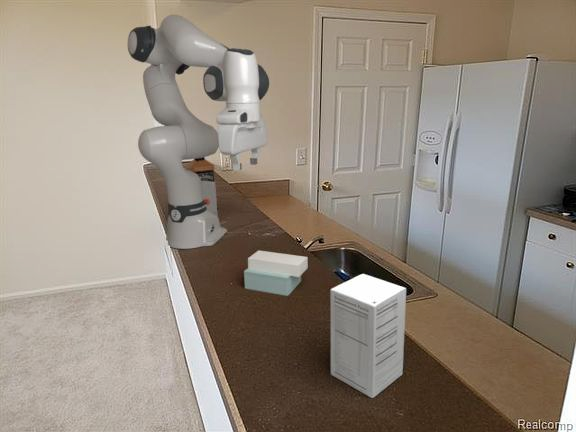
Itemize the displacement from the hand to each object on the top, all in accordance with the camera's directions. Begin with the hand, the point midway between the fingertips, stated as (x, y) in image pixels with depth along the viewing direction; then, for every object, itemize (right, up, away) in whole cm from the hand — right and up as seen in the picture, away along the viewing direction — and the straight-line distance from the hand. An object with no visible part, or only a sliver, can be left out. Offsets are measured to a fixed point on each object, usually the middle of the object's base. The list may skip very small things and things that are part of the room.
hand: (246, 167), depth 116 cm
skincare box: (-21, -16, +53) cm, 59 cm away
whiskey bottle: (-25, -11, +70) cm, 75 cm away
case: (+7, -31, -4) cm, 32 cm away
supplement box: (+25, -41, -40) cm, 63 cm away
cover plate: (+9, -27, -5) cm, 29 cm away
